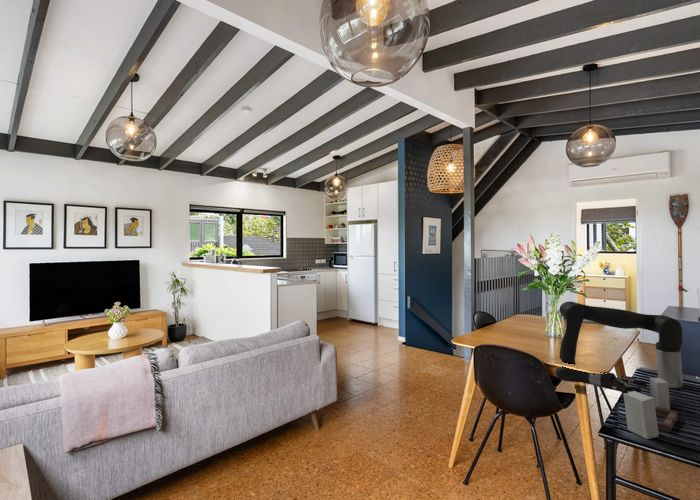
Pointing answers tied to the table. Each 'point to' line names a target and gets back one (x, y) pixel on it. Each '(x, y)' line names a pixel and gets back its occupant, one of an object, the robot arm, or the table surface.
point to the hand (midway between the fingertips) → (643, 387)
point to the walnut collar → (670, 419)
